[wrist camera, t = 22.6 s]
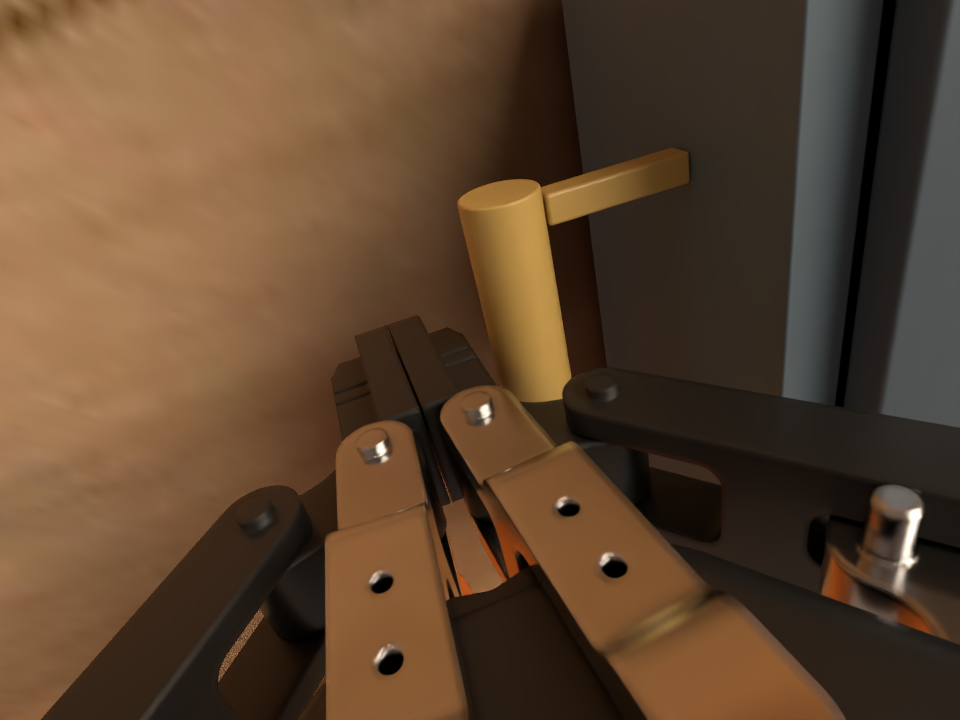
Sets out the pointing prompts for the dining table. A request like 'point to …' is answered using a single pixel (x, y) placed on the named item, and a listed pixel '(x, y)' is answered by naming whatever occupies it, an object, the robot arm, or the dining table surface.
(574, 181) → the drawer
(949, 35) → the cabinet
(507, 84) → the dining table surface
